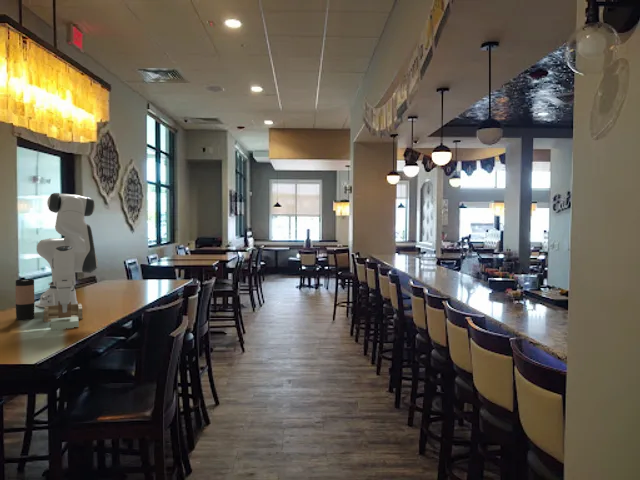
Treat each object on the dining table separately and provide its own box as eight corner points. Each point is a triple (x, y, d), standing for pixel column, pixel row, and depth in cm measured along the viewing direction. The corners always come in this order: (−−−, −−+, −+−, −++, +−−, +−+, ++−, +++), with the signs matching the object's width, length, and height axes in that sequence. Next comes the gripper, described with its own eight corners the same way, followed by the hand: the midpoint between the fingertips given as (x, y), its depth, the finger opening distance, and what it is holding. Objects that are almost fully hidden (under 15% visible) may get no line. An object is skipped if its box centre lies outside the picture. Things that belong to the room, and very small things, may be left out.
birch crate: (45, 317, 221) (45, 305, 221) (81, 314, 229) (81, 303, 229) (43, 324, 207) (43, 311, 207) (82, 320, 215) (82, 308, 215)
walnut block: (58, 316, 204) (58, 301, 204) (70, 315, 207) (70, 300, 207) (58, 318, 200) (58, 302, 200) (71, 317, 203) (70, 302, 202)
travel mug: (12, 321, 211) (11, 280, 211) (27, 318, 219) (27, 278, 218) (22, 323, 209) (22, 281, 208) (38, 319, 216) (37, 279, 215)
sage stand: (51, 325, 205) (51, 318, 205) (78, 322, 211) (78, 316, 211) (50, 330, 196) (50, 323, 196) (78, 327, 202) (78, 320, 201)
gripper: (56, 279, 210) (57, 307, 211) (56, 284, 193) (56, 315, 193) (71, 278, 213) (72, 306, 214) (72, 283, 196) (72, 314, 196)
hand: (64, 311), depth 203 cm, fingers closed on walnut block, 5 cm apart
